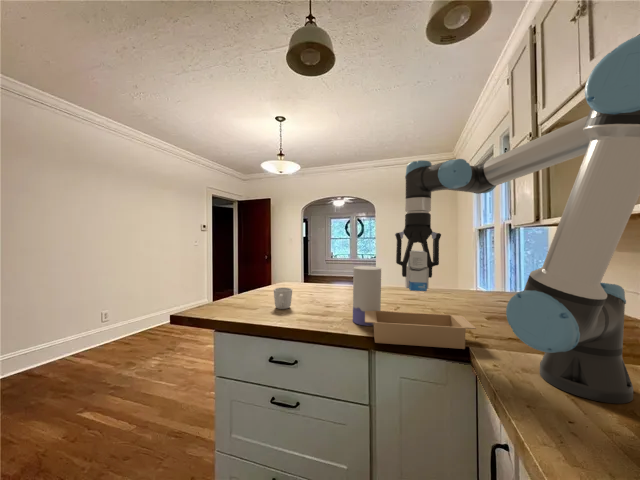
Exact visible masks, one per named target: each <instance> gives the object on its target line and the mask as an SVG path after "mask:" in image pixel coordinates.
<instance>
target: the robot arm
mask: <svg viewBox="0 0 640 480" xmlns="http://www.w3.org/2000/svg"><path fill="white" fill-rule="evenodd" d="M584 97H585V101H586V103H587V105H588V106H589V107H590V110H589V111H588V115H586V116H583V117H582V118H579V119H576V120H575V121H573V122H570V123H568V124H566V125H563V126H561V127H559V128H557V129H555V130H553V131H551V132H548V133H546V134H544V135H541V136H539V137H537V138H535V139H532V140H531V141H528V142H526V143H524V144H522V145H519V146H517V147H514V148H512V149H510V150H508V151H506V152H503V153H502V154H499V155H497V156H495V157H493V158H491V159H489V160H486V161H483V162H481V163H479V164H477V165H470V163H469V162H467V160H466V159H465V158H457V159H456V158H455V159H448V160H446V161H443V162H439V163H436V164H435V163H434V164H432V162H431V161H429V160H416V161H415V160H414V161H411V162H409V163H408V164H406V167H405V169H406V170H405V176H404V177H405V178H404V179H405V204H404V205H405V207H404V209H405V211H404V212H406V213H405V214H404V228H403V230H402V231H399V232H395V233H394V236H395V239H396V252H395V253H396V256H395V259H396V260H395V263H396V265H399V266H401V276H402V277H403V278H405V279H404V284H405V285H404V287H405V288H406V289H409V267H408V260H409V256H410V251H411V250H413V246H414V244H416V243H420V245H421V248H422V251H424V252H427V290H428V289H429V278H430V279H431V278H432V277H433V267H436V266H438V265H439V264H440V252H439V251H440V239H441V237H442V234H441V233H440V232H439V233H438V232H436V231H433V229H432V226H431V225H432V223H431V220H432V219H431V218H432V217H431V213H430V212H431V211H432V192H438V191H454V192H455V191H456V192H465V193H473V194H479V195H481V194H488V193H490V192H492V191H493V190H495V188H496V187H497V186H499V185H501V184H505V183H507V182H510V181H514V180H516V179H518V178H523V177H524V176H527V175H530V174H533V173H536V172H539V171H542V170H544V169H547V168H550V167H552V166H556V165H559V164H562V163H564V162H567V161H569V160H572V159H576V158H578V157H581V156H583V159H582V162H581V164H580V167H579V169H578V173H577V175H576V177H575V181H574V183H573V186H572V189H571V190H570V194H569V196H568V199H567V201H566V203H565V207H564V209H563V211H562V214H561V217H560V220H559V223H558V225H557V228H556V230H555V233H554V235H553V239H552V241H551V243H550V245H549V249H548V251H547V254H546V256H545V260H544V262H543V264H542V266H541V267H539V268H537V269H535V270H532V271H530V273H529V275H528V278H527V280H526V283H525V286H524V288H523V290H522V291H519V292H517V293H515V294H514V295H513V296H512V297H510V299H509V300H508V302H507V304H506V307H505V308H506V311H505V312H506V313H505V315H506V316H505V317H506V320H507V323H508V325H509V326H510V327H511V329H512V333H514V335H515V336H516V337H517V338H518V339H519V340H520V341H521V342H523V343H524V344H525V345H527V347H530V348H531V349H534V350H536V351H539V352H543V357H542V359H541V360H540V363H539V375H540V377H541V378H542V379H543V380H544V381H546V382H547V383H548V384H550V385H552V386H554V387H555V388H557V389H559V390H561V391H564V392H566V393H568V394H571V395H574V396H577V397H581V398H584V399H587V400H591V401H595V402H601V403H607V404H627V403H630V402H631V401H633V400H634V385H633V383H632V381H631V378H630V374H629V372H628V370H627V366H626V364H625V362H624V359H623V349H624V348H623V345H624V328H625V327H624V324H625V309H626V307H625V306H626V304H627V300H626V295H625V294H626V293H625V289H624V287H622V286H621V285H619V284H615V283H608V282H606V283H605V282H602V280H603V278H604V276H605V275H606V272H607V269H608V267H609V265H610V262H611V261H612V259H613V256H614V253H615V251H616V249H617V247H618V245H619V242H620V240H621V237H622V236H623V233H624V231H625V229H626V227H627V224H628V222H629V220H630V217H631V215H632V213H633V211H634V209H635V206H636V204H637V202H638V200H639V198H640V34H639V35H636V36H634V37H632V38H629V39H628V40H625V41H624V42H622V43H621V44H619V45H618V46H617V47H615V48H614V49H612V50H611V51H610V52H608V53H607V54H606V55H604V56H603V57H602V59H600V60H599V62H597V63H596V65H595V66H594V68H593V69H592V71H591V72H590V74H589V76H588V77H587V79H586V82H585V86H584ZM404 236H405V238H406V239H407V245H406V249H405V252H404V256H403V258H402V242H403V241H402V239H403V238H404ZM430 237H431V239H432V257H431V254H430V250H429V246H428V239H429V238H430Z"/></svg>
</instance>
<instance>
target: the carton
mask: <svg viewBox="0 0 640 480" xmlns="http://www.w3.org/2000/svg"><path fill="white" fill-rule="evenodd" d="M365 323H374V325H373V337H374V343H376V344H386V345H387V344H388V345H389V344H390V345H402V346H403V345H405V346H417V347H418V346H419V347H428V348H429V347H433V348H443V349H444V348H445V349H448V348H449V349H460V350H461V349H462V350H465V349H466V329H467V330H476V329H477V327H475V325H473V324H472V323H471V322H470V321H469V320H467V319H466V318H465V317H464V316H463V315H453V314H445V313H444V314H443V313H426V312H407V311H390V310H389V311H388V310H387V311H386V310H380V311H365Z"/></svg>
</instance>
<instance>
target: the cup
mask: <svg viewBox="0 0 640 480" xmlns="http://www.w3.org/2000/svg"><path fill="white" fill-rule="evenodd" d="M273 299H274V307H275V308H277V309H278V310H287V309H289V308H290V307H291V305H292V299H293V288H290V287H276V288H274V289H273Z"/></svg>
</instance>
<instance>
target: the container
mask: <svg viewBox="0 0 640 480" xmlns="http://www.w3.org/2000/svg"><path fill="white" fill-rule="evenodd" d="M352 268H353V275H352V276H353V278H352V279H353V281H352V283H353V284H352V288H353V289H352V322H353V323H354V324H356V325H360V326H365V327H368V326H370V327H374V323H365V311H382V310H381V304H382V301H381V299H382V296H381V295H382V268H381V267H379V266H371V265H357V266H354V267H352Z"/></svg>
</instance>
